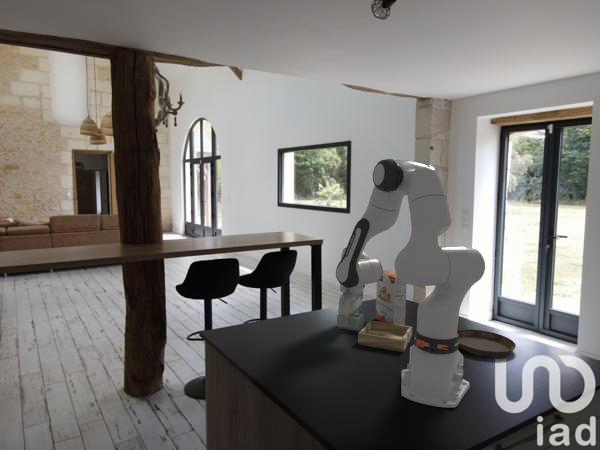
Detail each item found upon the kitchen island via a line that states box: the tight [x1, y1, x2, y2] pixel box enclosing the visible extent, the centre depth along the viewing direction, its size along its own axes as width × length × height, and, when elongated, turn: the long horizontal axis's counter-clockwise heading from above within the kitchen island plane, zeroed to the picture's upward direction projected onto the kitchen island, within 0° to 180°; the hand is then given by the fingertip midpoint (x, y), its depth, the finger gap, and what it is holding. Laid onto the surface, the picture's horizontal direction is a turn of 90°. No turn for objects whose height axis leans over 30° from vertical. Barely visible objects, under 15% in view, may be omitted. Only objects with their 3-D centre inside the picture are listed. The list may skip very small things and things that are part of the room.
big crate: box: [357, 320, 413, 353], centre depth 152 cm, size 16×16×4 cm
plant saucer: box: [457, 328, 517, 358], centre depth 147 cm, size 21×21×3 cm
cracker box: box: [375, 269, 407, 326], centre depth 170 cm, size 14×6×21 cm, turn 19°
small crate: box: [336, 313, 364, 332], centre depth 166 cm, size 6×9×5 cm, turn 65°
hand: (350, 321), depth 166 cm, fingers open, 8 cm apart
